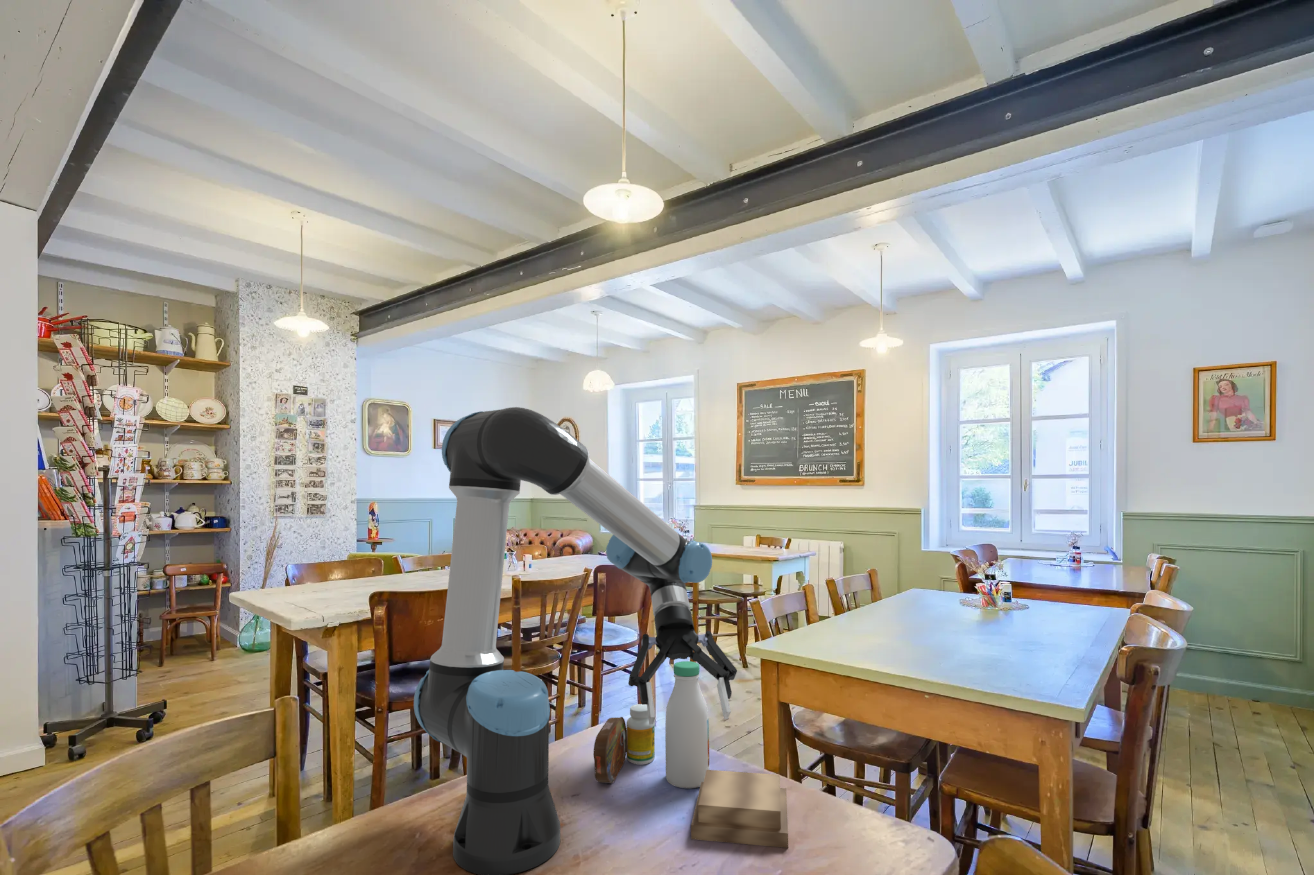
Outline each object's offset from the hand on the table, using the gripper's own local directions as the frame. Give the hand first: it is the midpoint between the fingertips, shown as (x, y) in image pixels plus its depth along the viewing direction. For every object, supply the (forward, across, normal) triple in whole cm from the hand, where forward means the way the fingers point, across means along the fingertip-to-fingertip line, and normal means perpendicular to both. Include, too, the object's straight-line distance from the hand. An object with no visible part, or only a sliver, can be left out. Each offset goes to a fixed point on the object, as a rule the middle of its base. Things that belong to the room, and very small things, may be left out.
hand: (690, 718), depth 116 cm
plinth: (+18, -5, +2) cm, 18 cm away
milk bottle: (+7, 0, -8) cm, 11 cm away
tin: (+3, +13, -12) cm, 18 cm away
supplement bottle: (0, +7, -15) cm, 17 cm away
